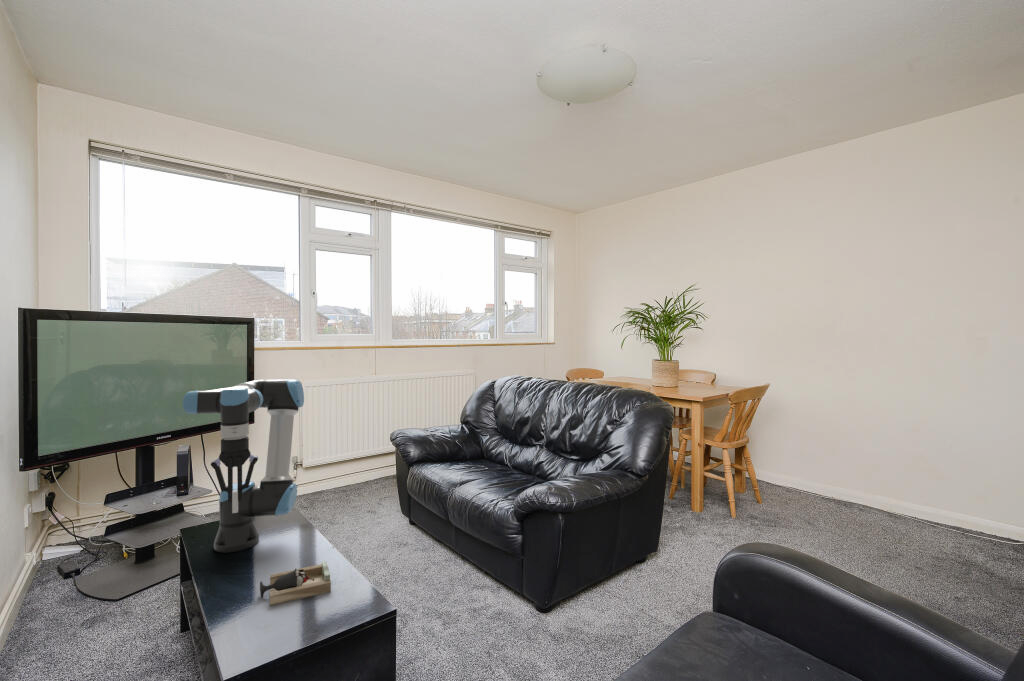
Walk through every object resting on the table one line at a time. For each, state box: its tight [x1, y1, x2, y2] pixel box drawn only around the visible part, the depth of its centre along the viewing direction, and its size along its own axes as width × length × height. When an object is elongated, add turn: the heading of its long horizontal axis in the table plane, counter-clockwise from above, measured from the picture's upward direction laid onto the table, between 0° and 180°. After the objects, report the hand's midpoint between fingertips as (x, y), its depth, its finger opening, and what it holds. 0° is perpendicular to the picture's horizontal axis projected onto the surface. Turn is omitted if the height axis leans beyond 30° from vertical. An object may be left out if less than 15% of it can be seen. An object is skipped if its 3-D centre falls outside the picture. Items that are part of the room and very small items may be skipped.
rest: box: [269, 561, 332, 607], centre depth 146 cm, size 14×17×4 cm
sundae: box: [259, 568, 314, 599], centre depth 144 cm, size 7×7×15 cm
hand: (235, 511), depth 144 cm, fingers closed
